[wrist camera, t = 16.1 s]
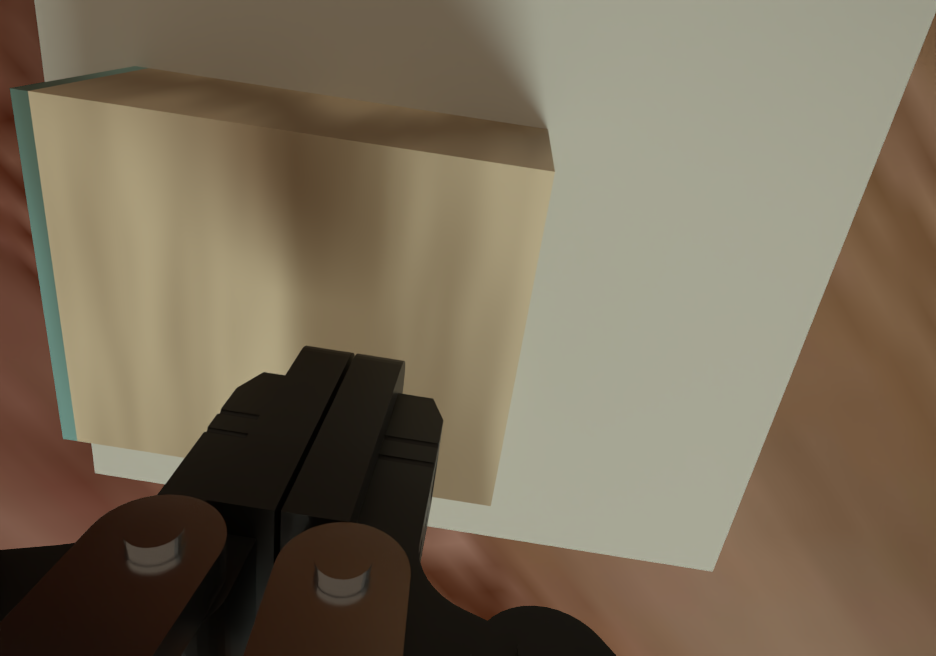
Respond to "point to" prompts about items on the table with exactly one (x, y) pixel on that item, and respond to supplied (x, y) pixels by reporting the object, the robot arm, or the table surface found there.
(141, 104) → the block
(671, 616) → the table surface
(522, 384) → the mat
